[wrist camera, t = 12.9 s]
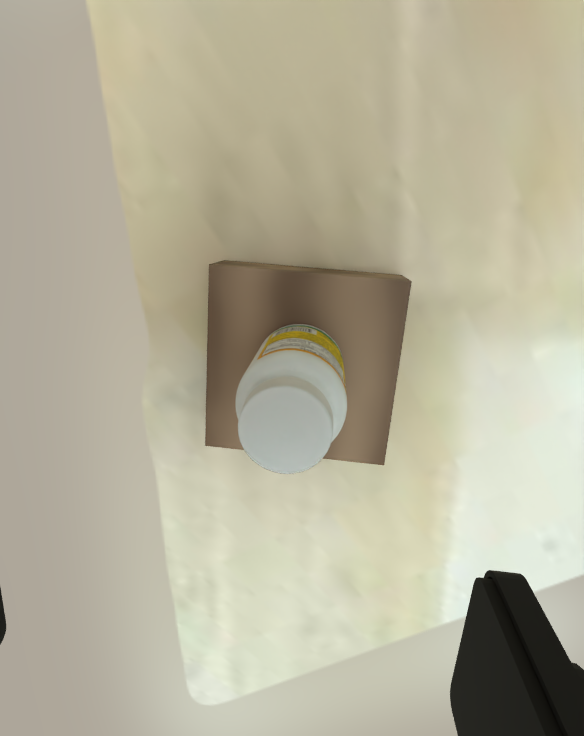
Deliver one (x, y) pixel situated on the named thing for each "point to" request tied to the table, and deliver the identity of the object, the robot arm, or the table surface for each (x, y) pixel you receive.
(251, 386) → the supplement bottle
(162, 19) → the table surface
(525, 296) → the table surface
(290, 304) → the walnut stand
